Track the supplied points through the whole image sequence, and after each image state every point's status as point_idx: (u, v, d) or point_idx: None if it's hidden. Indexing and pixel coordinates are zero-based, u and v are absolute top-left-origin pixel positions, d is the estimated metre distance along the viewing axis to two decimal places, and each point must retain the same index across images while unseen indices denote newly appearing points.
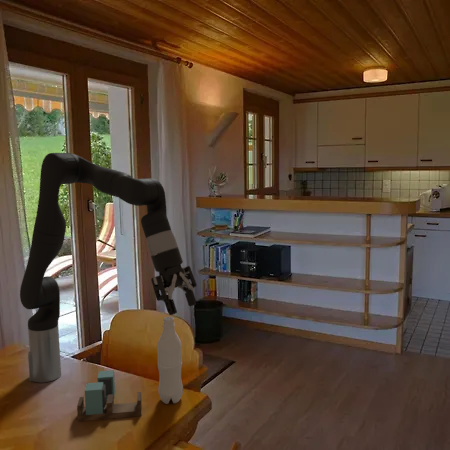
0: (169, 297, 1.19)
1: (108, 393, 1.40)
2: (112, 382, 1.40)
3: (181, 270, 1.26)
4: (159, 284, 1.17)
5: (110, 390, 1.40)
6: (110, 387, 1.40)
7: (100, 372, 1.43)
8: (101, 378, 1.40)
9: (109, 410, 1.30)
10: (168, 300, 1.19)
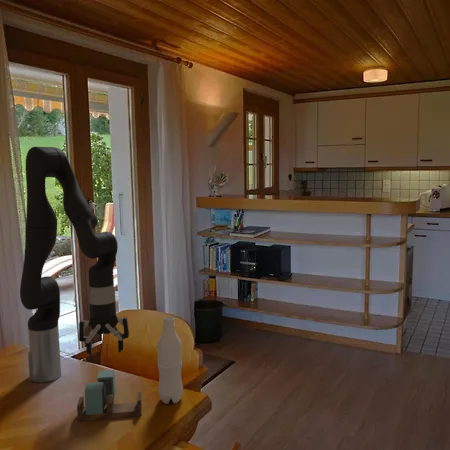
0: (86, 341, 1.39)
1: (108, 393, 1.40)
2: (112, 382, 1.40)
3: (113, 321, 1.39)
4: (79, 328, 1.38)
5: (110, 390, 1.40)
6: (110, 387, 1.40)
7: (100, 372, 1.43)
8: (101, 378, 1.40)
9: (109, 410, 1.30)
10: (86, 343, 1.39)
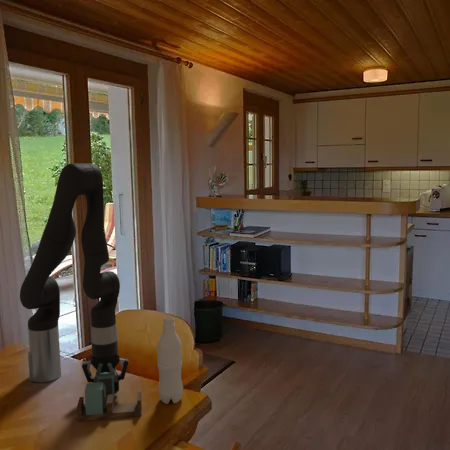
0: (94, 382, 1.41)
1: (108, 393, 1.40)
2: (112, 382, 1.40)
3: (115, 360, 1.41)
4: (84, 371, 1.40)
5: (110, 390, 1.40)
6: (110, 387, 1.40)
7: None
8: (101, 378, 1.40)
9: (109, 410, 1.30)
10: None
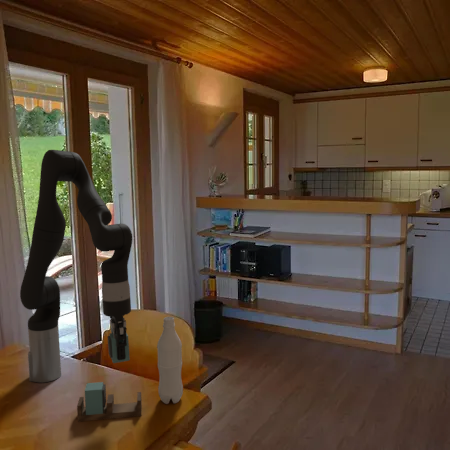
0: None
1: (109, 354, 1.30)
2: (111, 344, 1.29)
3: (115, 322, 1.28)
4: None
5: (109, 351, 1.30)
6: (109, 348, 1.30)
7: None
8: (109, 335, 1.32)
9: (109, 410, 1.30)
10: None
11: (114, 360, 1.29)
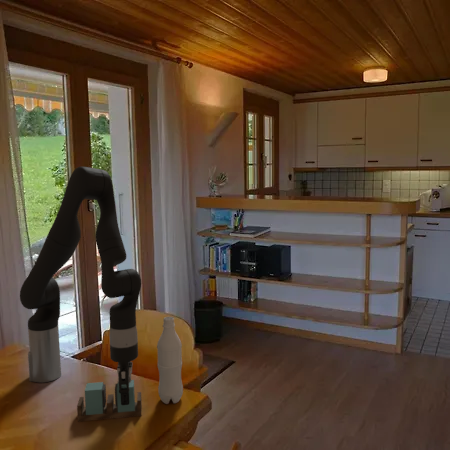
0: None
1: None
2: (117, 394, 1.30)
3: (120, 368, 1.28)
4: None
5: (115, 400, 1.31)
6: (115, 397, 1.30)
7: None
8: (117, 383, 1.33)
9: (109, 410, 1.30)
10: None
11: (119, 409, 1.30)
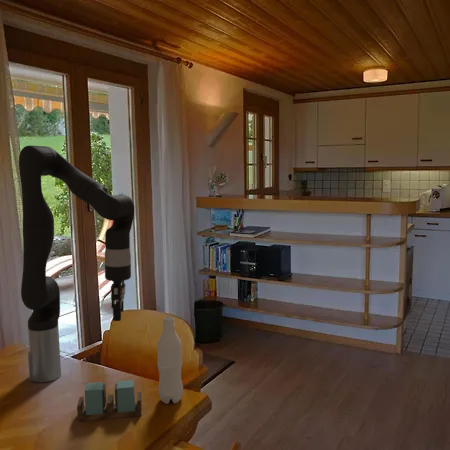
0: None
1: None
2: (117, 394, 1.30)
3: (113, 286, 1.37)
4: None
5: (115, 400, 1.31)
6: (115, 397, 1.30)
7: (130, 380, 1.34)
8: (117, 383, 1.33)
9: (109, 410, 1.30)
10: None
11: (119, 409, 1.30)
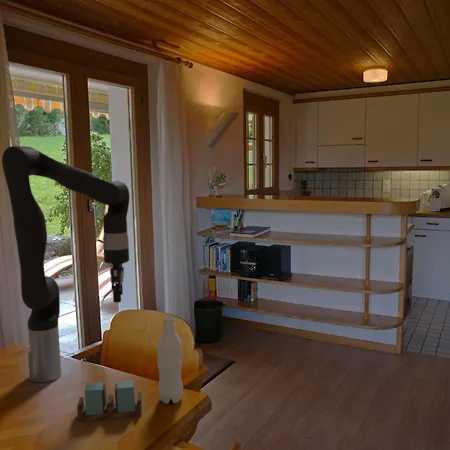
0: None
1: None
2: (117, 394, 1.30)
3: None
4: None
5: (115, 400, 1.31)
6: (115, 397, 1.30)
7: (130, 380, 1.34)
8: (117, 383, 1.33)
9: (109, 410, 1.30)
10: None
11: (119, 409, 1.30)
